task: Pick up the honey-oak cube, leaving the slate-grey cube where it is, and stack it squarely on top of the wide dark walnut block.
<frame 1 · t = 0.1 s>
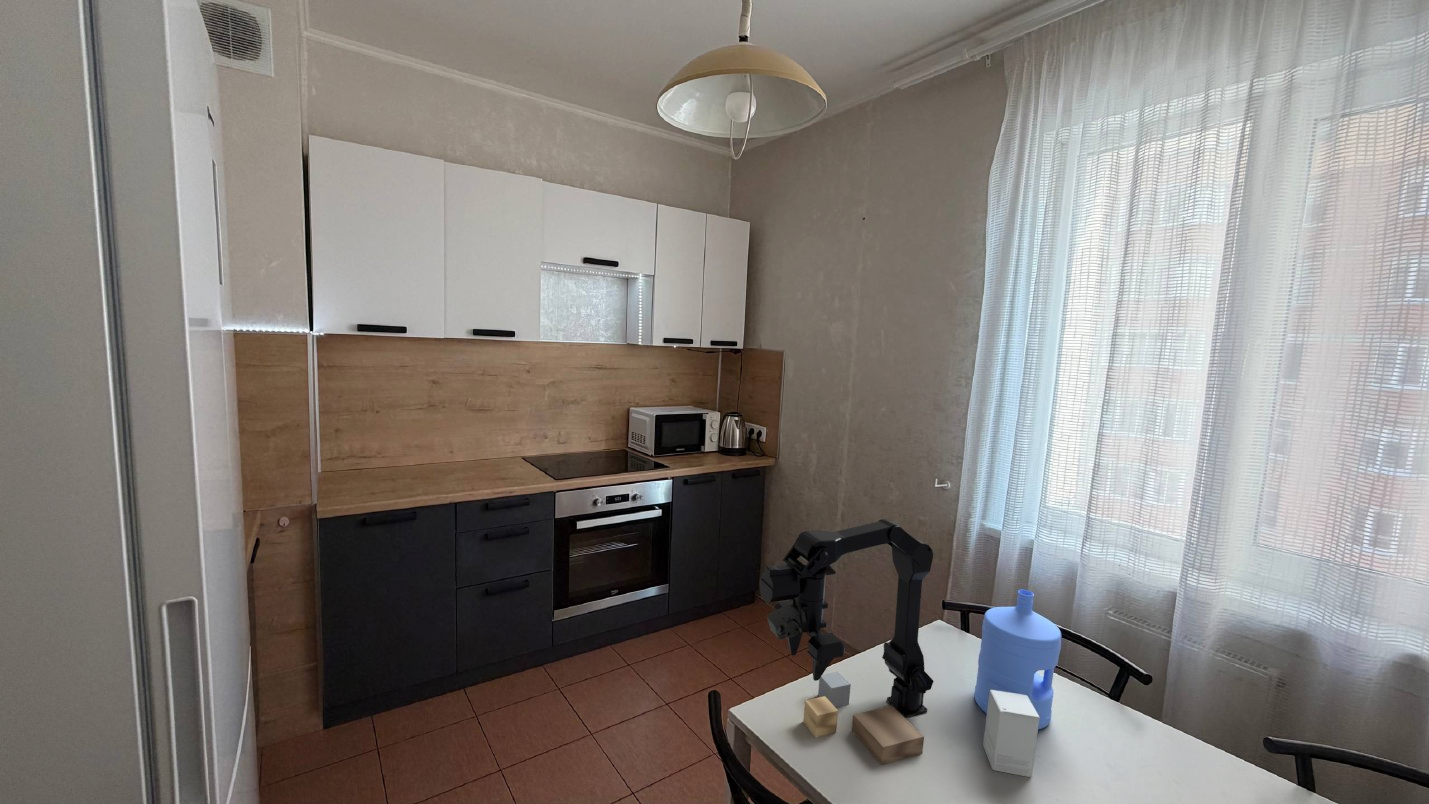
hand: (804, 667, 118), 14 cm above the table, tool pointing down, fingers open, 9 cm apart
oak cube: (819, 727, 122), on the table
walnut block: (886, 743, 118), on the table
water jug: (1010, 709, 131), on the table
supplement box: (1006, 761, 115), on the table
grey cube: (833, 700, 131), on the table
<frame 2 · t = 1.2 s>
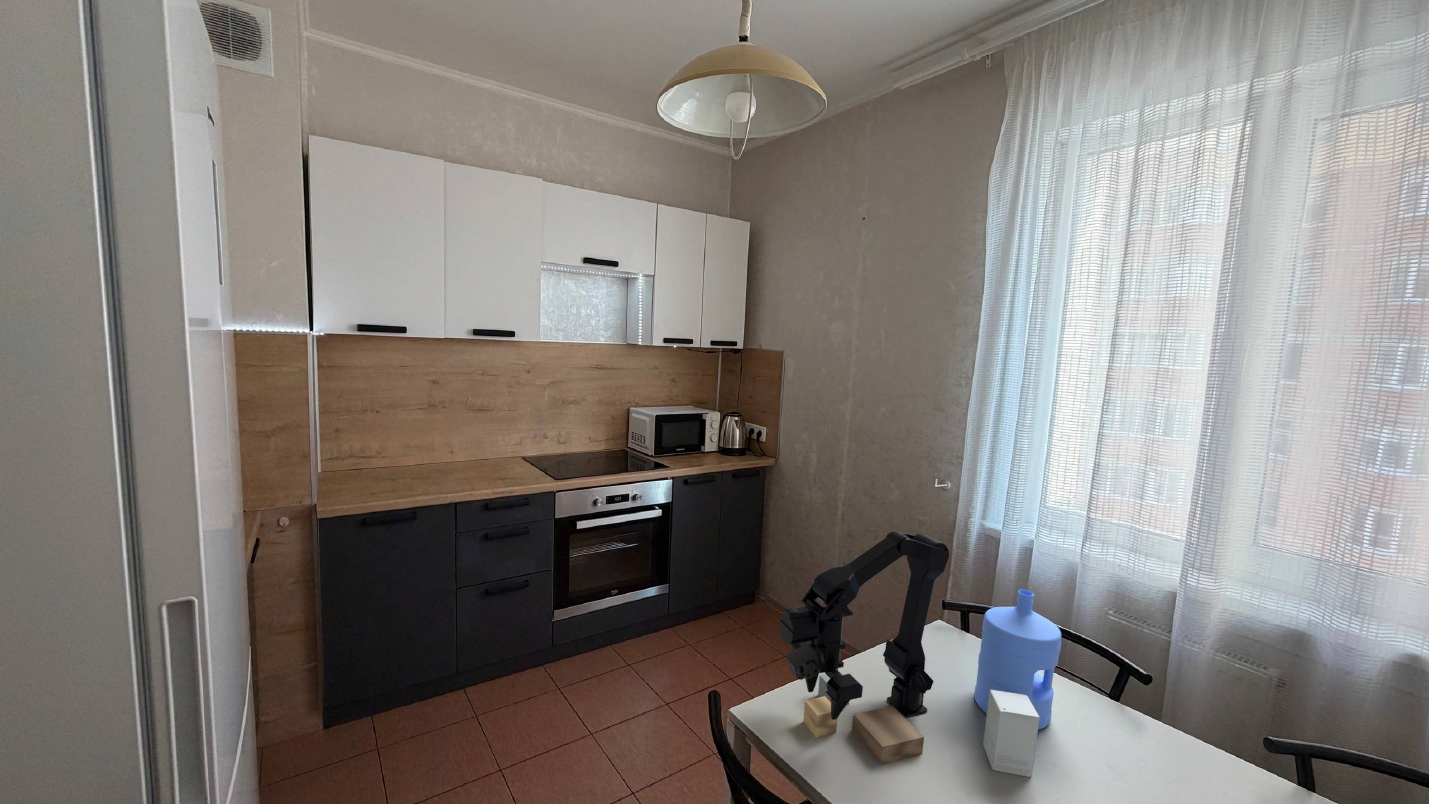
hand: (821, 705, 121), 5 cm above the table, tool pointing down, fingers open, 9 cm apart
nothing on the table moved.
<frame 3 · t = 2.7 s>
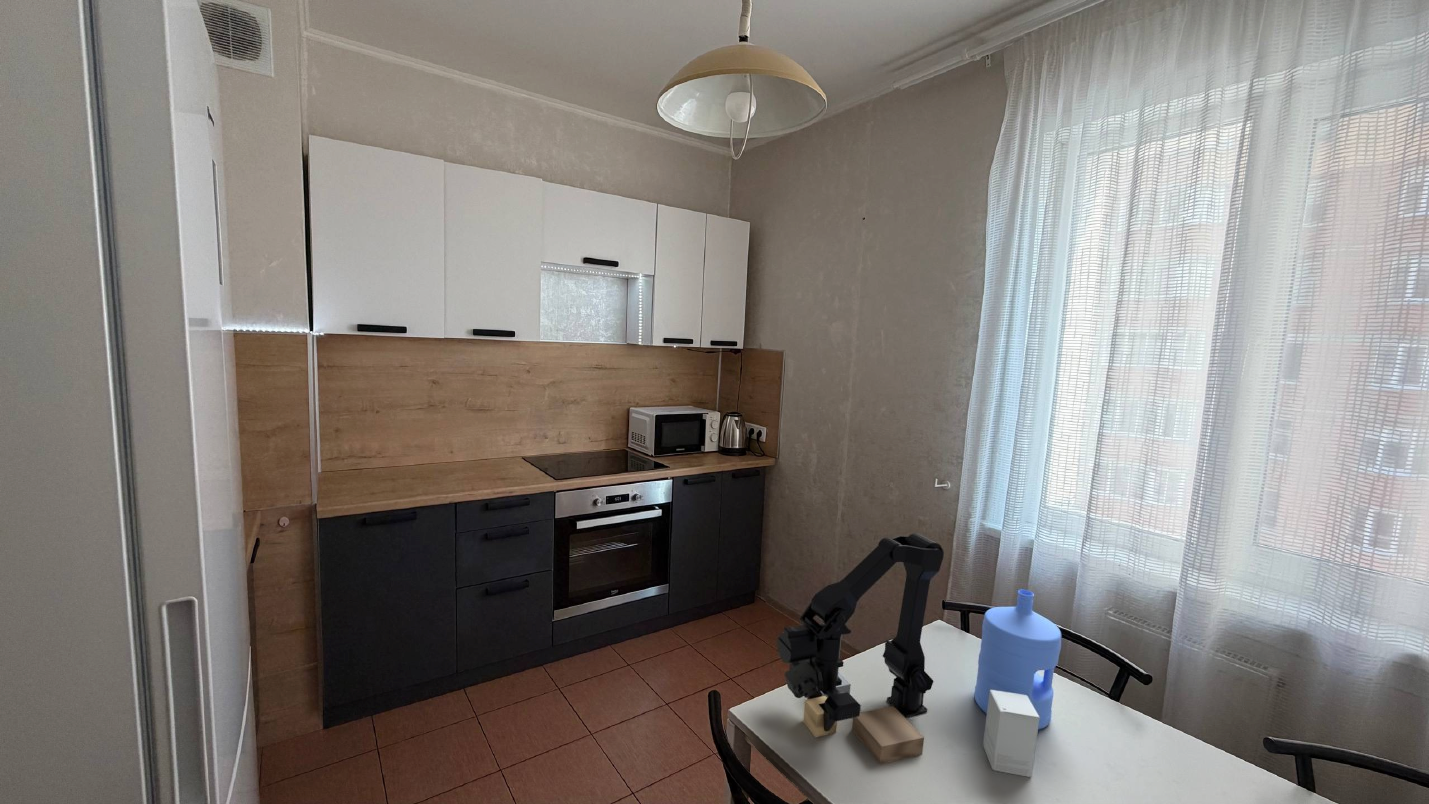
hand: (819, 722, 121), 1 cm above the table, tool pointing down, fingers closed on oak cube, 5 cm apart
oak cube: (819, 726, 122), on the table, touching gripper
everything else where it was.
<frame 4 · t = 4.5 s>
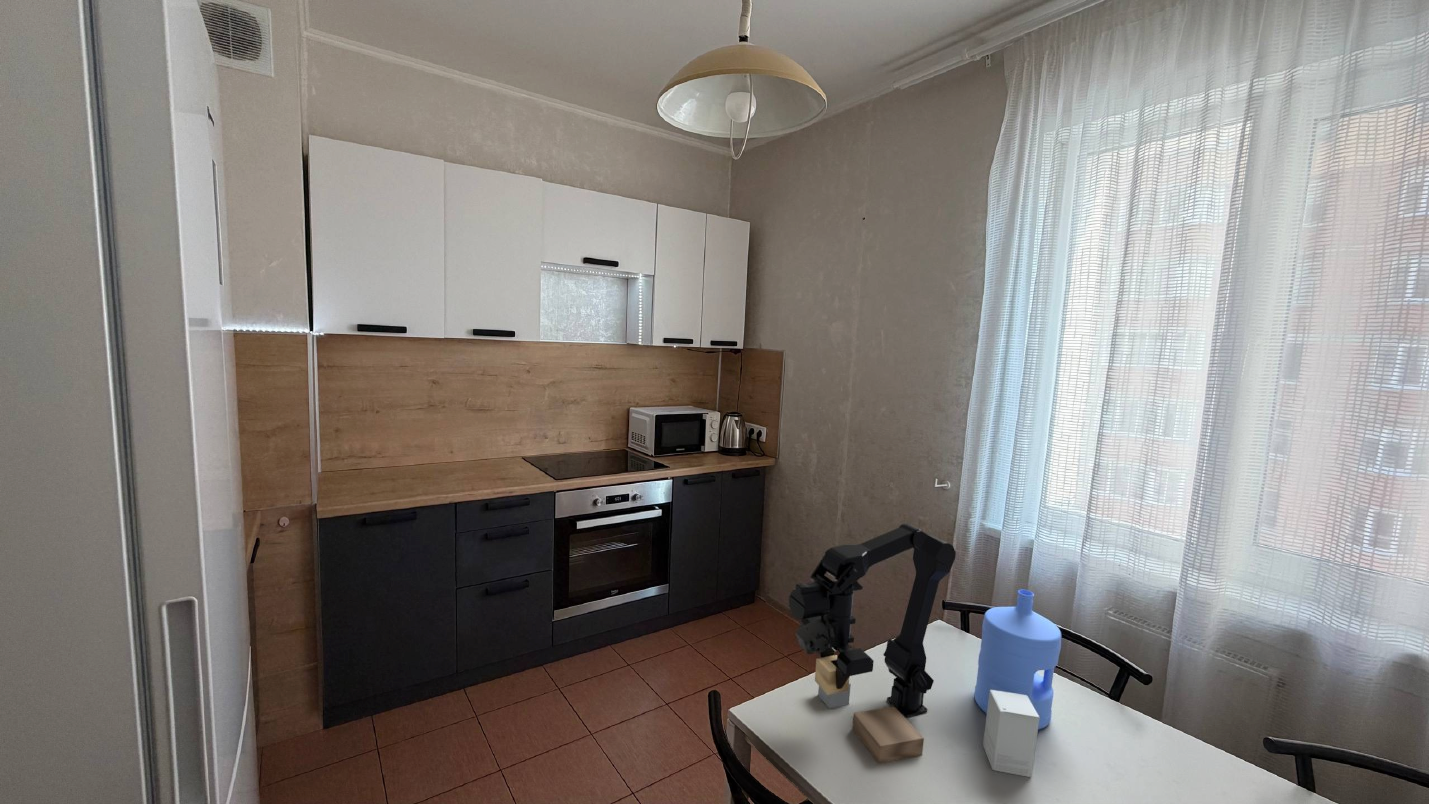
hand: (831, 680, 120), 11 cm above the table, tool pointing down, fingers closed on oak cube, 5 cm apart
oak cube: (831, 685, 120), point 10 cm above the table, touching gripper
everything else where it was.
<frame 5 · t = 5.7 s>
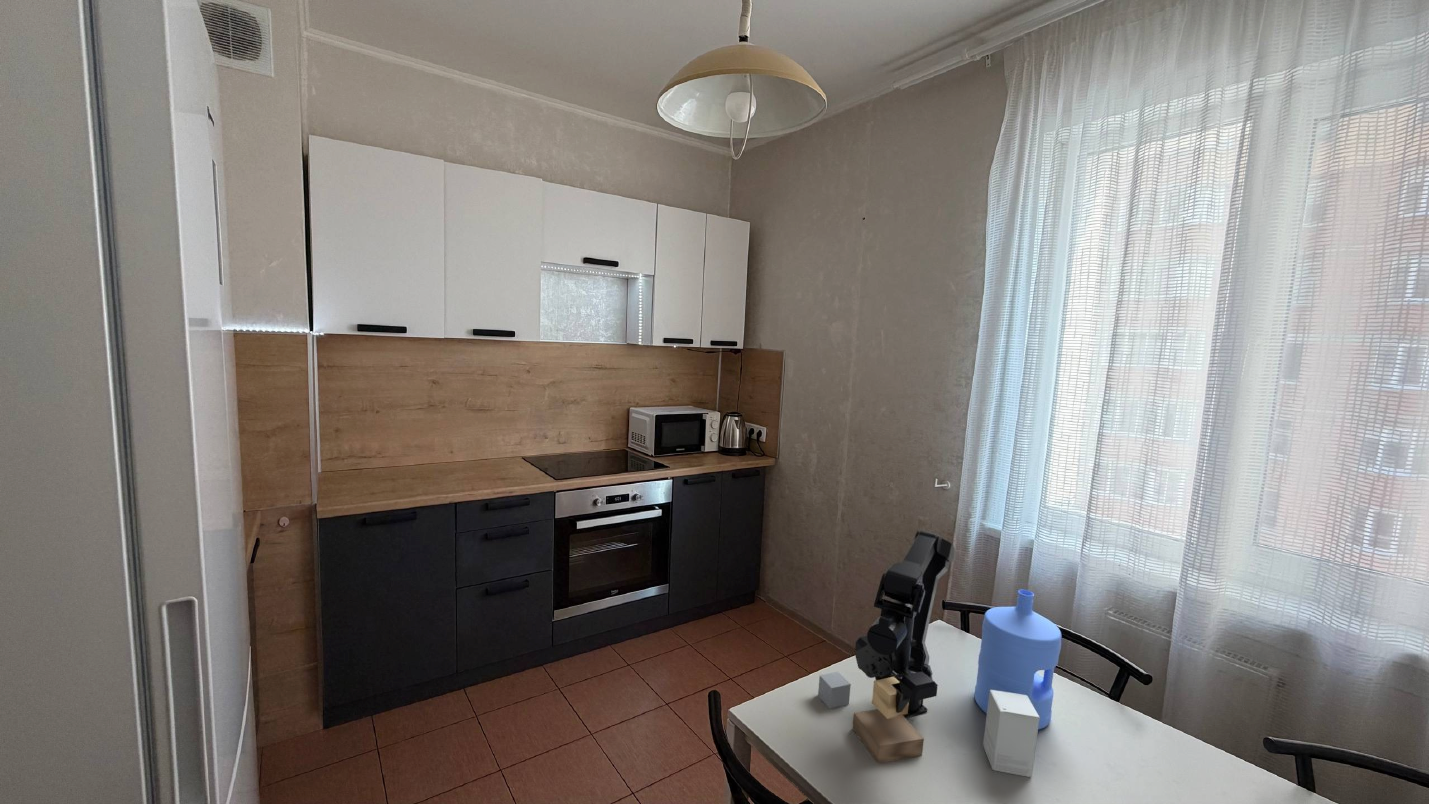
hand: (890, 703, 117), 8 cm above the table, tool pointing down, fingers closed on oak cube, 5 cm apart
oak cube: (889, 708, 117), point 7 cm above the table, touching gripper
everything else where it was.
when the fingers open (6 cm above the table, at t = 6.4 s): oak cube drops 2 cm, resting on walnut block.
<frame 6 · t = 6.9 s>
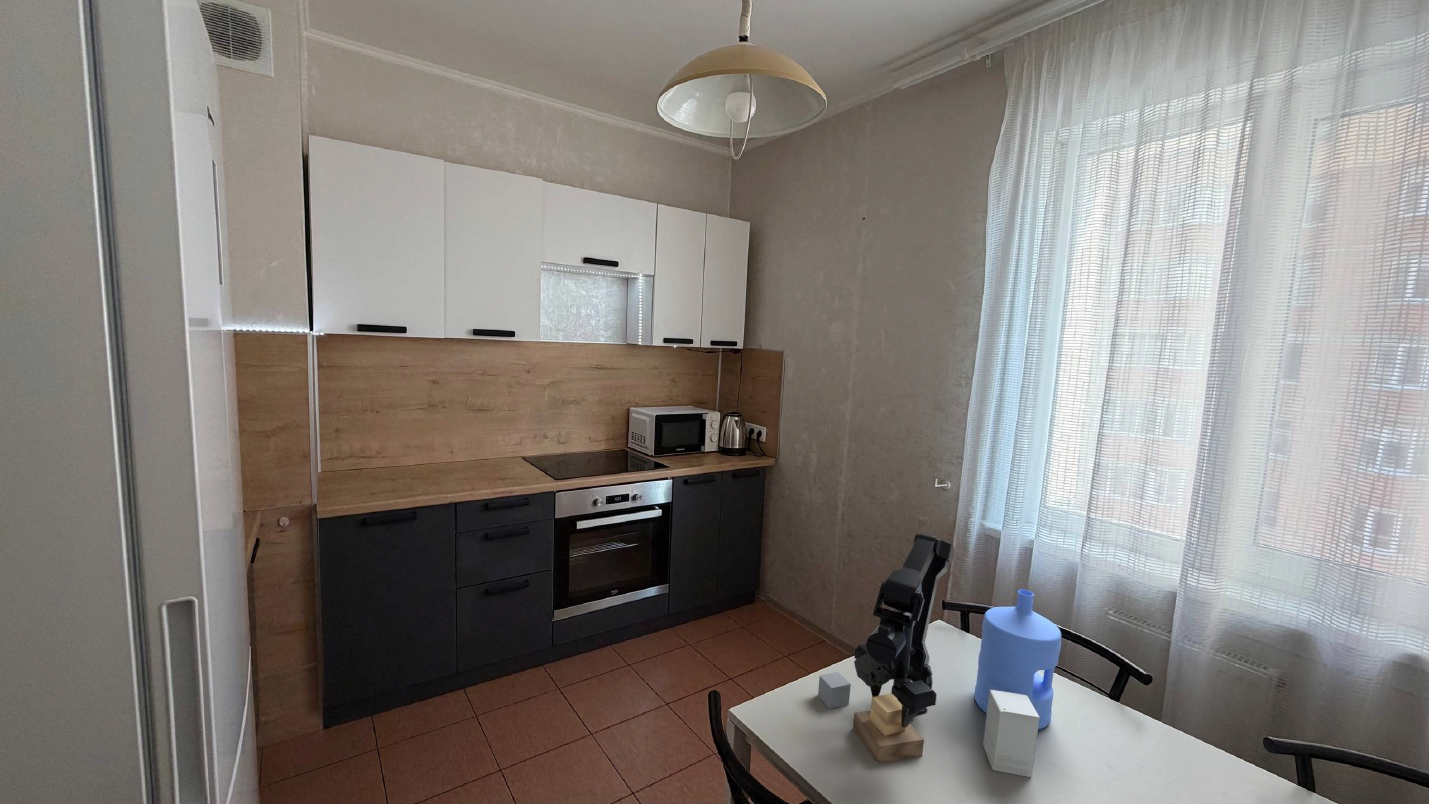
hand: (889, 712, 117), 7 cm above the table, tool pointing down, fingers open, 9 cm apart
oak cube: (886, 725, 118), point 4 cm above the table, touching walnut block
walnut block: (886, 743, 118), on the table, touching oak cube
everything else where it was.
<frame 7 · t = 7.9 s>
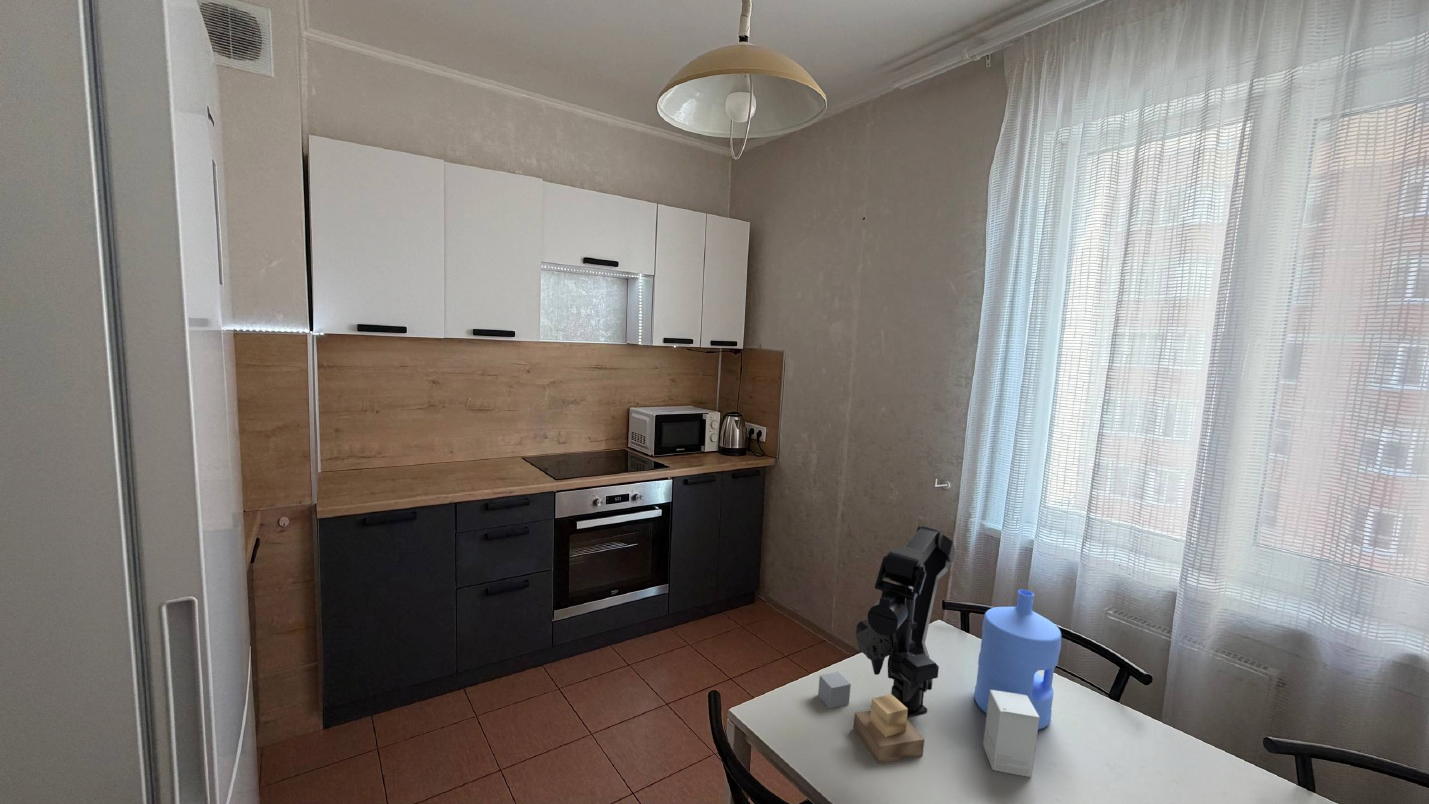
hand: (890, 687, 117), 12 cm above the table, tool pointing down, fingers open, 9 cm apart
oak cube: (887, 726, 118), point 4 cm above the table
walnut block: (886, 743, 118), on the table
everything else where it was.
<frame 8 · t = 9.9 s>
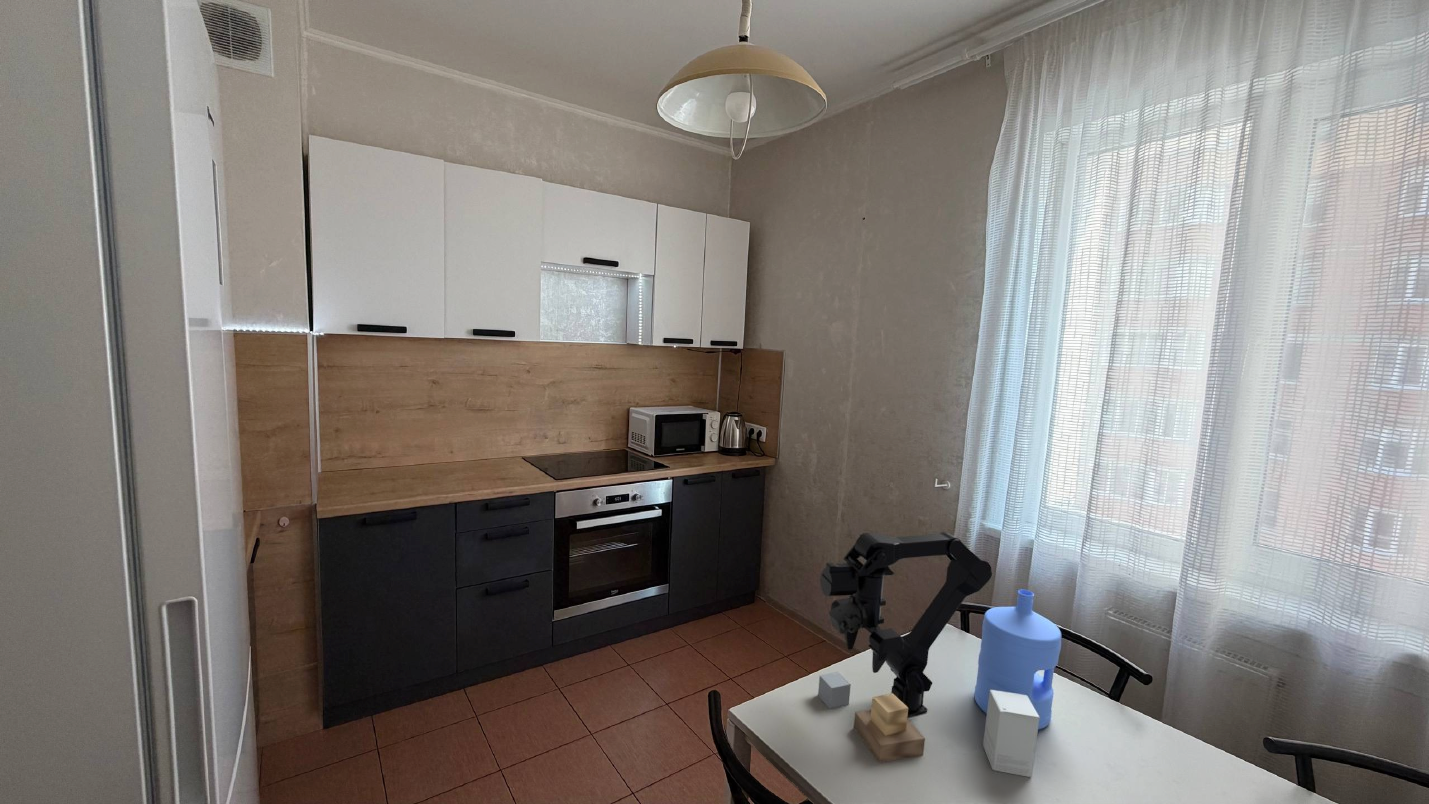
hand: (862, 660, 126), 12 cm above the table, tool pointing down, fingers open, 9 cm apart
oak cube: (887, 725, 118), point 4 cm above the table, touching walnut block
walnut block: (887, 742, 119), on the table, touching oak cube
everything else where it was.
at the end: oak cube 0.3 cm off-centre on the walnut block, point 4.0 cm above the walnut block's base; oak cube tilted 0°; the gripper is holding nothing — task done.
